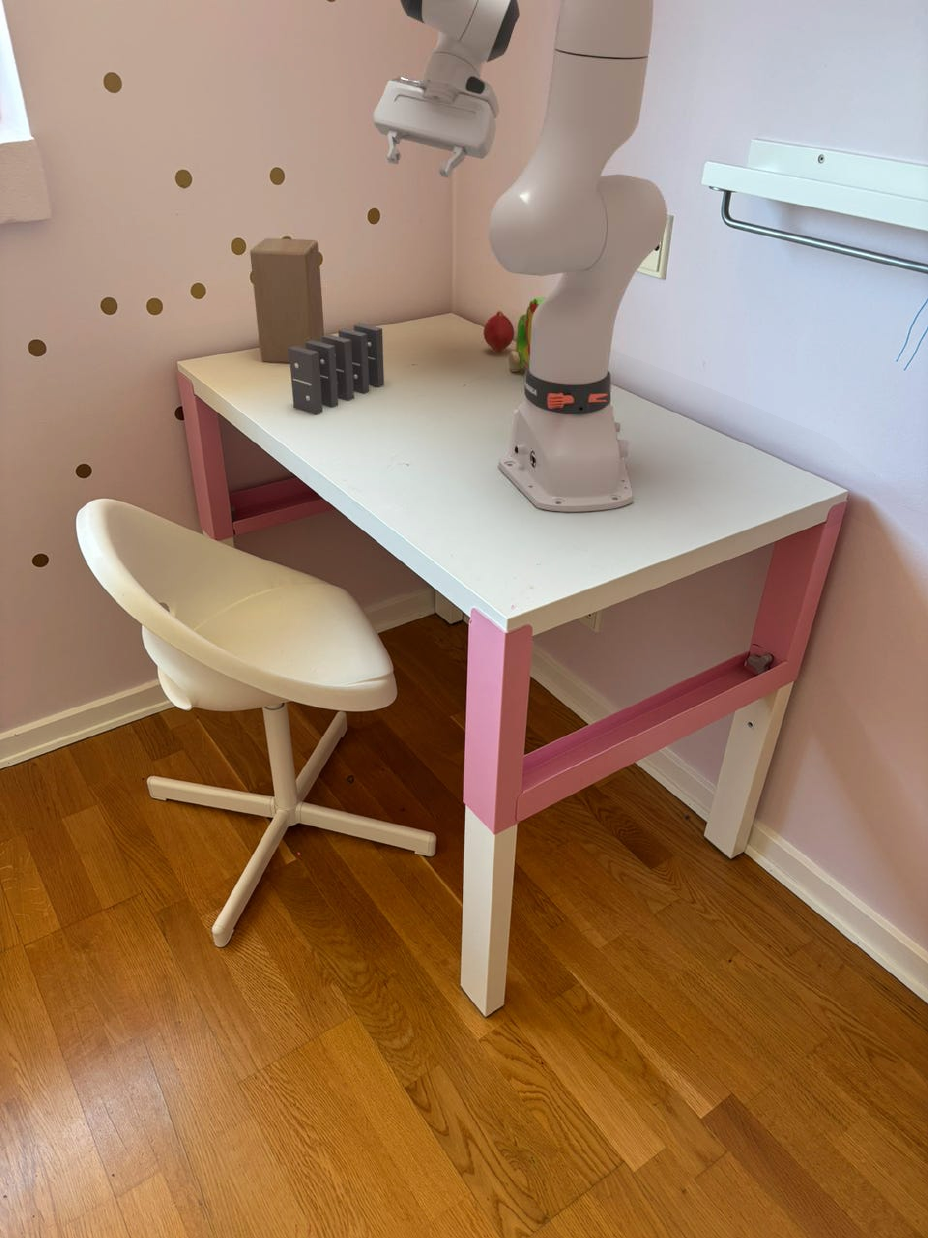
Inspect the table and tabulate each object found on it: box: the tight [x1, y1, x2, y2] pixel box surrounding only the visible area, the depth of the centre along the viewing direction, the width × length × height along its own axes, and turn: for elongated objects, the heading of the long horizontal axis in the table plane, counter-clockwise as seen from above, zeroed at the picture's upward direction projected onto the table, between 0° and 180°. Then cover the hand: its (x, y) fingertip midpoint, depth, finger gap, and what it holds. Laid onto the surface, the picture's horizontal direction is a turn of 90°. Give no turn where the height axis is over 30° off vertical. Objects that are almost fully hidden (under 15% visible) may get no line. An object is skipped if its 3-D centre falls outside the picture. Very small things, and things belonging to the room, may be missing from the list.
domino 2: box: [305, 340, 339, 409], centre depth 157 cm, size 2×5×10 cm, turn 55°
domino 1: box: [288, 346, 323, 416], centre depth 155 cm, size 2×5×10 cm, turn 55°
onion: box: [483, 310, 515, 353], centre depth 181 cm, size 6×6×8 cm
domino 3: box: [322, 334, 355, 402], centre depth 160 cm, size 2×5×10 cm, turn 55°
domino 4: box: [337, 328, 370, 395], centre depth 163 cm, size 2×5×10 cm, turn 55°
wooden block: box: [249, 237, 325, 364], centre depth 175 cm, size 10×10×20 cm
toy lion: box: [508, 297, 547, 380], centre depth 166 cm, size 16×5×15 cm, turn 14°
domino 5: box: [353, 322, 385, 388], centre depth 166 cm, size 2×5×10 cm, turn 55°
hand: (417, 168), depth 154 cm, fingers open, 8 cm apart
